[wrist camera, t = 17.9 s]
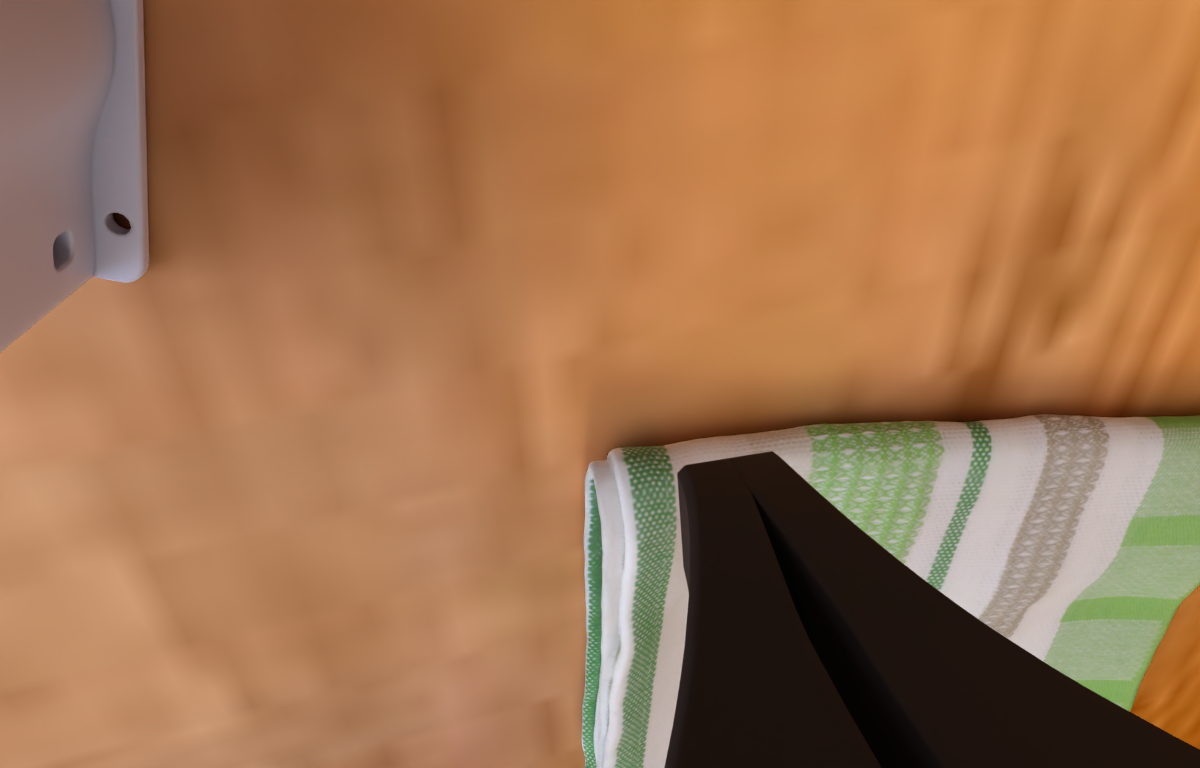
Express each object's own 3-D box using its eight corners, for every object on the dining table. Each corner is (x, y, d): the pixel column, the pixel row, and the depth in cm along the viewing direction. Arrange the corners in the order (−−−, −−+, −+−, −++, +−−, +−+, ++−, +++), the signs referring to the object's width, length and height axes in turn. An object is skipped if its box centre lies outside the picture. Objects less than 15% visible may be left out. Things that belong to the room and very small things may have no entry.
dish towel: (582, 424, 22) (595, 501, 19) (1259, 389, 24) (1366, 452, 21) (579, 756, 31) (587, 844, 28) (1074, 705, 33) (1131, 780, 30)
